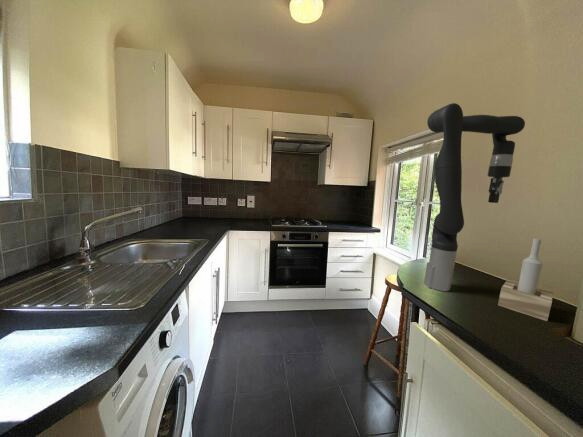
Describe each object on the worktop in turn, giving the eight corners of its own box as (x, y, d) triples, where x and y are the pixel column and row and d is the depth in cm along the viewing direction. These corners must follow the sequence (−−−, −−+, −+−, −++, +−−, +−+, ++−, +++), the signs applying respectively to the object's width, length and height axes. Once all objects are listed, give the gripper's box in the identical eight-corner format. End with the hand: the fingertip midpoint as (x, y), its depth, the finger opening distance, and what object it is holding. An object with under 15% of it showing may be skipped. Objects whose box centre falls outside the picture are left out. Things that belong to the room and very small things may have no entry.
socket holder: (547, 321, 81) (551, 301, 80) (497, 305, 91) (501, 287, 90) (548, 310, 90) (552, 292, 89) (503, 296, 100) (506, 280, 99)
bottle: (537, 308, 87) (551, 241, 84) (520, 305, 88) (534, 239, 85) (526, 301, 92) (540, 238, 89) (510, 299, 93) (523, 236, 90)
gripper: (509, 163, 98) (501, 203, 100) (513, 167, 107) (506, 203, 109) (486, 164, 103) (479, 201, 105) (492, 167, 113) (485, 202, 115)
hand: (493, 202), depth 107 cm, fingers open, 8 cm apart
